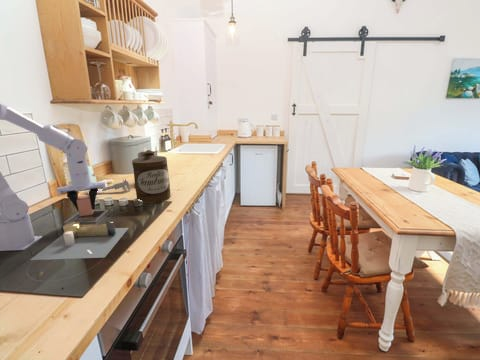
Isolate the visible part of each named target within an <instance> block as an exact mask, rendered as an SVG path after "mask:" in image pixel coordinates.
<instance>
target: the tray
mask: <svg viewBox="0 0 480 360" xmlns="http://www.w3.org/2000/svg"><path fill="white" fill-rule="evenodd" d="M109 217H111V211H110V209H94V212H93V214H91V215H85V216H80V215H79V212H78V211H77V212H76V213H75V214H73V215H71V216H70V217H69V218H67V220H65V221H63V222H62V224H63V225H62V226H64V225H65V224H68V223H72V222H79V224H80V225H91V224H101V222H102V221H103V220H105V219H106V218H109ZM82 218H84V219H85V218H87V219H89V218H95V219H94V220H78V219H82ZM76 220H77V221H76Z"/></svg>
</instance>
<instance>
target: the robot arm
mask: <svg viewBox="0 0 480 360" xmlns="http://www.w3.org/2000/svg"><path fill="white" fill-rule="evenodd" d="M0 120H1V121H6V122H9V123H11V124H13V125H16V126H17V127H19V128H22V129H25V130H27V131H29V132H31V133H32V134H35V135H36V136H37V138H38V140H39V142H42V143H44V144H47V145H49V146H51V147H53V148H54V149H57V150H59V151H62V153H64V154H65V157H66V163H67V167H68V173H69V177H70V182H71V183H70V185H65V186H58V188H56V191H57V195H61V194H65V193H66V197H67V198H68V200H70V202H71V203H72V204H73V205H74V208H75V209H76V210H77V211H76V212H77V213H78V212H79V210H78V205H77V201H76V200H77V198H78V197H79V193H78V192H84V191H88V192H89V194H88V195H89V196H90V199H91V206H92V210H96V198H97V194H98V193H97V191H98V189H105V187H107V186H106V182H91V177H90V170H89V166H88V161H87V157H86V154H87V152H88V146H87V145H86V143H85V142H84V141H83V140H81V139H78V138H74V135H73V134H72V133H69V134H68V133H67V132H65V131H63V130H61V129H59V126H57V125H51V124H45V125H42V124H40V123H39V122H36V121H35V120H34V119H31V118H30V117H27V116H26V115H25V114H23V113H20V112H18V111H17V110H15V109H13V108H11V107H10V106H8V105H6V104H3V103H1V102H0ZM42 238H43V236H42V235H35V232H34V228H33V224H32V220H31V217H30V213H29V205H28V203H27V202H26V201H25V200H23V199H21V198H20V197H19V196H18V195H17V194H16V192H15V191H14V190H13V188H12V187H11V186H10V185H9V183H8V181H7V180H6V178H5V176H4V175H3V173H2V172H1V171H0V252H4V251H5V252H6V251H7V252H8V251H9V252H10V251H24V250H25V251H26V250H27V249H28V248H29V247H31V246H32V245H34V244H35V243H36V242H38V241H39V240H41V239H42Z"/></svg>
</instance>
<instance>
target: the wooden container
mask: <svg viewBox="0 0 480 360" xmlns="http://www.w3.org/2000/svg"><path fill="white" fill-rule="evenodd" d="M152 151H153V150H150V149H149V150H146V151H144V152H145V155H146V156H145V157H140V158H138V157H136V158H134V159H132V161H131V164H132V168H133V178H134V188H135V195H136V200H137V199H140V200H142V201H143V202H147V203H146V204H149V203H148V202H156V203H160V202H159V201H161V202H164V201H166V200H168V199H170V197H171V186H170V185H171V184H170V177H169V176H170V175H169V168H168V167H169V166H168V159H167V156H161V155H157V156H153V155H152V154H153V152H152Z"/></svg>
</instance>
